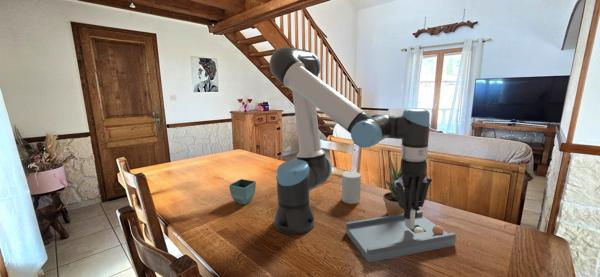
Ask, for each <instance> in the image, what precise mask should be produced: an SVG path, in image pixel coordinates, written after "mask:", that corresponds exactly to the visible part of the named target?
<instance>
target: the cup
mask: <svg viewBox="0 0 600 277" xmlns="http://www.w3.org/2000/svg"><path fill="white" fill-rule="evenodd" d="M361 180H362V174H361V173H360V172H357V171H344V172H342V174H341V201H342V202H344V203H346V204H349V205H350V204H351V205H355V204H359V203H360V202H361V188H362V187H361V184H362V182H361Z"/></svg>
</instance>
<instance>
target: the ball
mask: <svg viewBox="0 0 600 277" xmlns="http://www.w3.org/2000/svg"><path fill="white" fill-rule="evenodd" d="M421 232H424V230H423V229H422V228H421V227H416V228H415V229H414V233H421Z"/></svg>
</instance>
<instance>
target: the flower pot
mask: <svg viewBox="0 0 600 277" xmlns="http://www.w3.org/2000/svg"><path fill="white" fill-rule="evenodd" d="M228 186H229V191H230V192H229V193H230V196H231V198H232V200H233V201H234V202H235V203H237V204H240V205H247V204H248V203H250V202H251V201H252V200H253V198H254V196H255V193H256V186H257V181H255V180H249V179H244V178H243V179H242V178H240V179H238V180H236V181H234V182H232V183H230V184H229V185H228Z"/></svg>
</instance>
